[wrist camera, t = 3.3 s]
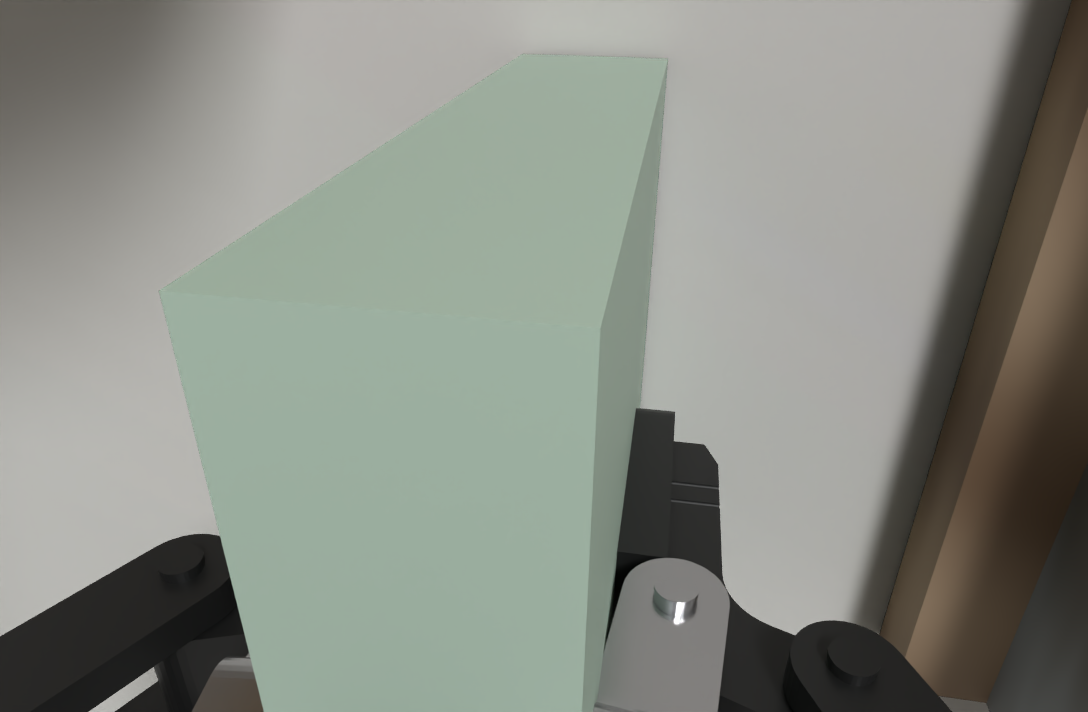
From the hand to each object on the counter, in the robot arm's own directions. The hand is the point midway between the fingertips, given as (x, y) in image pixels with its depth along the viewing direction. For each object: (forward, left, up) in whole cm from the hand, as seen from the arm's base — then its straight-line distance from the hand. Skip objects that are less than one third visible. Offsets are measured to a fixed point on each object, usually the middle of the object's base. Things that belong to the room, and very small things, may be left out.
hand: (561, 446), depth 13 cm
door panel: (0, 0, -3) cm, 3 cm away
